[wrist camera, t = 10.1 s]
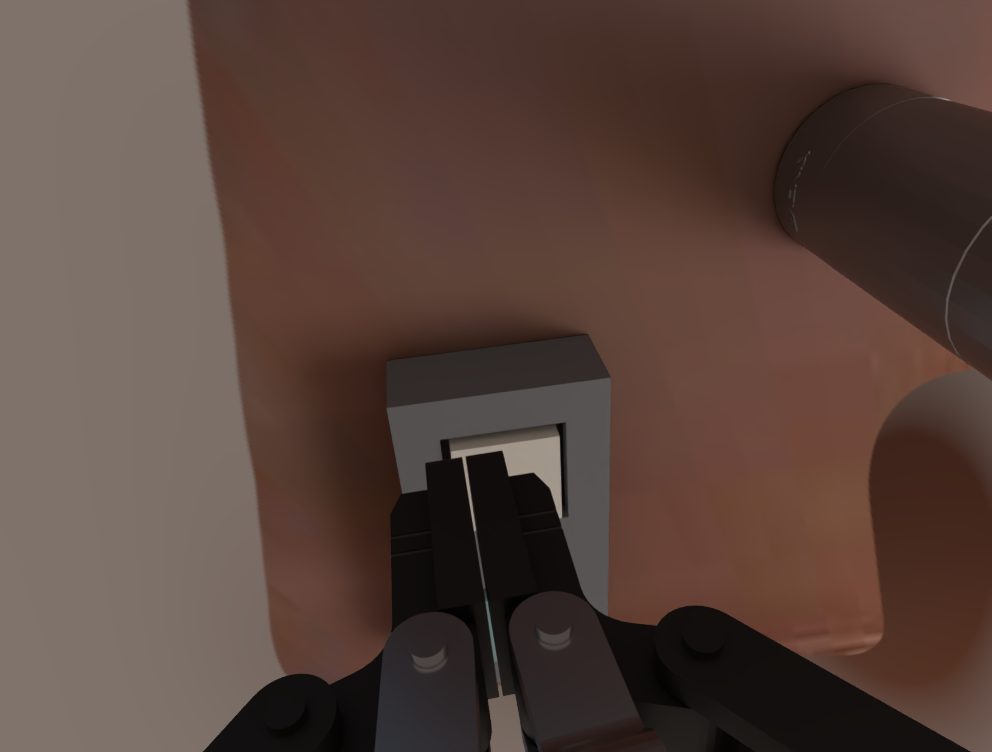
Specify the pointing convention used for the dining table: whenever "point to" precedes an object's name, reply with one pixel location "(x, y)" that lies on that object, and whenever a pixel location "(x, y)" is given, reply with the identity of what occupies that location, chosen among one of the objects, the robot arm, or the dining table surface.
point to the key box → (516, 427)
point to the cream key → (518, 455)
